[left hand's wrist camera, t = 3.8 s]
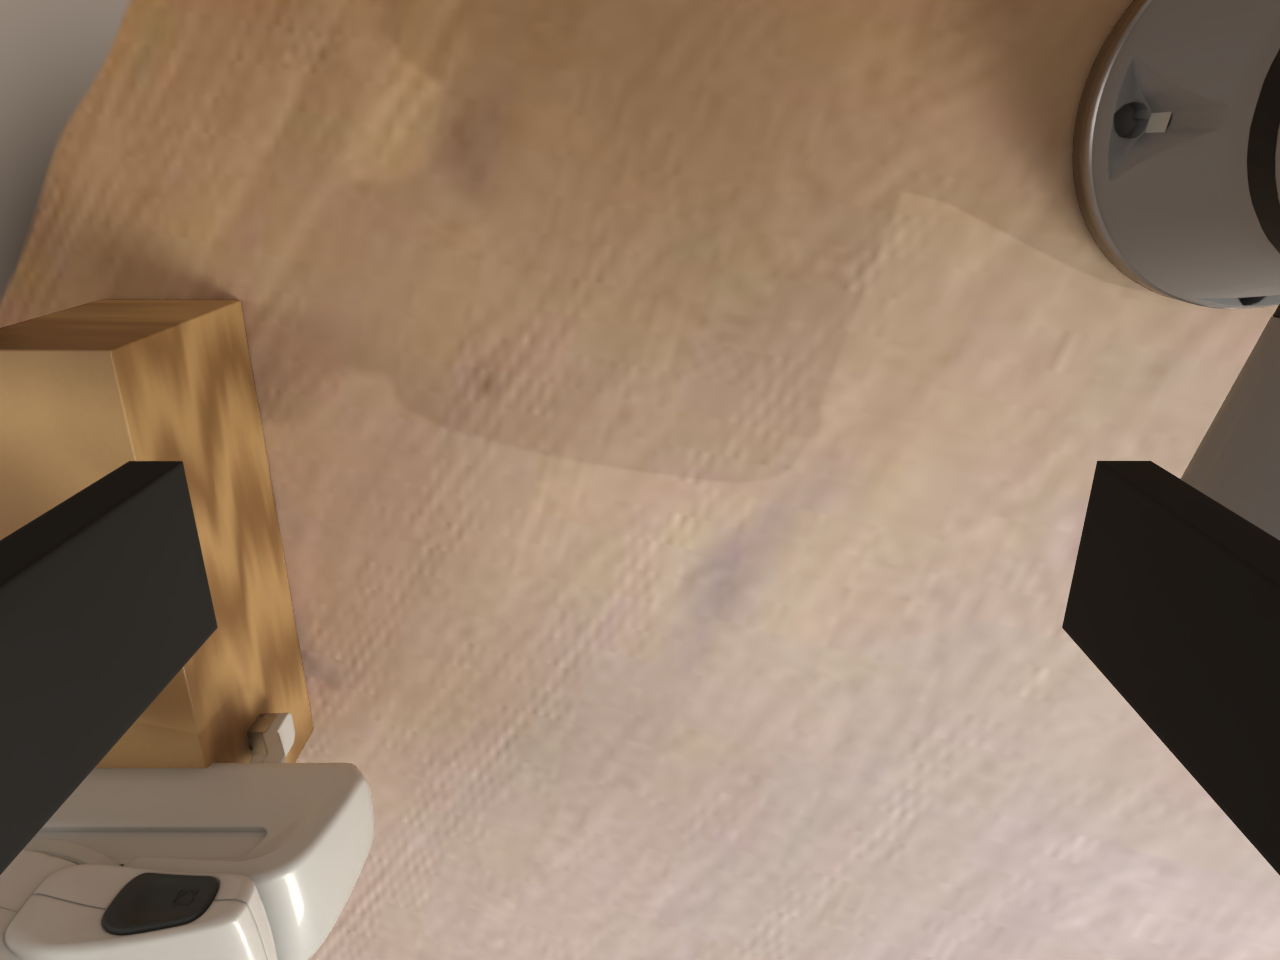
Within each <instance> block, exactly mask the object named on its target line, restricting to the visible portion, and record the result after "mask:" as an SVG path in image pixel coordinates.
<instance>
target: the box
mask: <svg viewBox="0 0 1280 960" xmlns="http://www.w3.org/2000/svg"><path fill="white" fill-rule="evenodd" d="M129 461H183V465H184V470H185V474H186V479H187V484H188V489H189V493H190V498H191V503H192V508H193V512H194V517H195V522H196V527H197V531H198V536H199V541H200V546H201V550H202V555H203V560H204V565H205V569H206V574H207V579H208V584H209V588H210V593H211V598H212V603H213V607H214V612H215V617H216V622H217V626H218V628H217V629H216V630H215V631H214V632H213V634H212V635H211V636H210V637H209V638H208V639H207V640H206V642H205V643H204V644H203V645H202V646H201V647H200V648H199V649H198V651H197V652H196V653H195V654H194V655H193V656H192V657H191V659H190V660H189V661H188V662H187V663H186V664H185V665H184V667H183V668H182V669H181V670H180V671H179V672H178V673H177V675H176V676H175V677H174V678H173V679H172V680H171V681H170V683H169V684H168V685H167V686H166V687H165V688H164V689H163V690H162V692H161V693H160V694H159V695H158V696H157V697H156V698H155V700H154V701H153V702H152V703H151V704H150V705H149V706H148V708H147V709H146V710H145V711H144V712H143V713H142V714H141V716H140V717H139V718H138V719H137V720H136V721H135V722H134V723H133V725H132V726H131V727H130V728H129V729H128V730H127V731H126V733H125V734H124V735H123V736H122V737H121V738H120V739H119V741H118V742H117V743H116V744H115V745H114V746H113V747H112V749H111V750H110V751H109V752H108V753H107V754H106V755H105V757H104V758H103V759H102V760H101V761H100V762H99V763H98V764H97V766H96V767H95V768H207V767H209V766H210V765H211V764H212V763H249V762H250V760H251V759H252V755H251V749H252V747H251V746H250V745H249V741H248V736H247V731H248V730H249V728H250V727H251V725H252V724H253V722H255V721H256V718H257V716H258V715H259V714H260V713H291V714H292V718H293V723H294V729H295V739H294V743H293V745H292V747H291V749H290V750H289V752H288V754H287V756H286V762H287V763H295V762H296V760H297V758H298V757H299V755H300V753H301V751H302V750H303V748H304V746H305V744H306V742H307V741H308V739H309V737H310V735H311V733H312V732H313V730H314V729H313V723H312V717H311V711H310V705H309V700H308V694H307V688H306V682H305V676H304V670H303V664H302V659H301V653H300V647H299V641H298V635H297V629H296V623H295V618H294V612H293V606H292V600H291V594H290V588H289V582H288V576H287V571H286V565H285V559H284V553H283V547H282V541H281V535H280V530H279V524H278V518H277V512H276V506H275V500H274V494H273V489H272V483H271V477H270V471H269V465H268V459H267V453H266V448H265V442H264V436H263V430H262V424H261V418H260V412H259V406H258V401H257V395H256V389H255V383H254V377H253V371H252V365H251V360H250V354H249V348H248V342H247V336H246V330H245V324H244V319H243V313H242V307H241V301H240V300H98V301H94V302H91V303H87V304H84V305H80V306H77V307H73V308H70V309H66V310H63V311H59V312H56V313H52V314H49V315H45V316H42V317H38V318H35V319H31V320H27V321H24V322H20V323H17V324H13V325H10V326H6V327H3V328H0V540H2V539H3V538H5V537H7V536H8V535H10V534H12V533H13V532H15V531H16V530H18V529H20V528H21V527H23V526H25V525H26V524H28V523H29V522H31V521H33V520H34V519H36V518H38V517H39V516H41V515H42V514H44V513H46V512H47V511H49V510H51V509H52V508H54V507H55V506H57V505H59V504H60V503H62V502H64V501H65V500H67V499H68V498H70V497H72V496H73V495H75V494H77V493H78V492H80V491H81V490H83V489H85V488H86V487H88V486H90V485H91V484H93V483H94V482H96V481H98V480H99V479H101V478H103V477H104V476H106V475H107V474H109V473H111V472H112V471H114V470H116V469H117V468H119V467H120V466H122V465H124V464H125V463H127V462H129Z"/></svg>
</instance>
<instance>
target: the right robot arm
mask: <svg viewBox="0 0 1280 960" xmlns="http://www.w3.org/2000/svg"><path fill="white" fill-rule="evenodd" d="M247 736H248V741H249V745H250V746H251V747H252V749H251V755H252V759H251V760H250V762H249V763H212V764H211V765H210V766H209V767H207V768H94V769H93V770H92V771H91V772H90V774H89V775H88V776H87V777H86V778H85V779H84V780H83V782H82V783H81V784H80V785H79V786H78V787H77V788H76V790H75V791H74V792H73V793H72V794H71V795H70V796H69V798H68V799H67V800H66V801H65V802H64V803H63V804H62V805H61V807H60V808H59V809H58V810H57V811H56V812H55V813H54V815H53V816H52V817H51V818H50V819H49V820H48V821H47V823H46V824H45V825H44V826H43V827H42V828H41V829H40V831H39V832H38V833H37V834H36V835H35V836H34V837H33V838H32V840H31V841H30V842H29V843H28V844H27V845H26V846H25V848H24V849H23V850H22V851H21V852H20V853H19V854H18V856H17V857H16V858H15V859H14V860H13V861H12V862H11V864H10V865H9V866H8V867H7V868H6V869H5V870H4V872H3V873H2V874H1V875H0V960H309V959H310V958H311V957H312V956H313V955H314V954H315V952H316V951H317V950H318V949H319V947H320V946H321V945H322V943H323V942H324V941H325V939H326V938H327V936H328V935H329V933H330V931H331V930H332V928H333V926H334V924H335V922H336V921H337V919H338V917H339V915H340V913H341V911H342V910H343V908H344V906H345V904H346V902H347V900H348V898H349V896H350V894H351V892H352V890H353V888H354V886H355V884H356V881H357V879H358V877H359V875H360V873H361V870H362V868H363V866H364V863H365V861H366V858H367V856H368V853H369V850H370V847H371V844H372V841H373V836H374V813H373V804H372V798H371V793H370V789H369V785H368V783H367V781H366V779H365V777H364V776H363V774H362V773H361V771H360V770H359V769H358V768H357V766H355V765H354V764H351V763H287V762H286V756H287V754H288V752H289V750H290V749H291V747H292V745H293V743H294V739H295V729H294V723H293V718H292V714H291V713H260V714H259V715H258V716H257V718H256V721H255V722H253V724H252V725H251V727H250V728H249V730H248V731H247Z"/></svg>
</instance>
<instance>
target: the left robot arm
mask: <svg viewBox="0 0 1280 960" xmlns="http://www.w3.org/2000/svg"><path fill="white" fill-rule="evenodd" d="M1073 175H1074V183H1075V189H1076V195H1077V199H1078V202H1079V206H1080V210H1081V213H1082V215H1083V218H1084V220H1085V223H1086V225H1087V227H1088V229H1089V231H1090V233H1091V235H1092V237H1093V239H1094V241H1095V242H1096V243H1097V245H1098V246H1099V248H1100V249H1101V251H1102V252H1103V253H1104V255H1105V256H1106V257H1107V258H1108V259H1109V260H1110V261H1111V263H1112V264H1113V265H1114V266H1115V267H1117V268H1118V269H1119V270H1120V271H1121V272H1122V273H1123V274H1124V275H1126V276H1127V277H1129V278H1130V279H1132V280H1133V281H1134V282H1136V283H1138V284H1139V285H1141V286H1143V287H1145V288H1147V289H1149V290H1151V291H1153V292H1156V293H1158V294H1161V295H1164V296H1167V297H1170V298H1174V299H1177V300H1181V301H1184V302H1188V303H1192V304H1196V305H1199V306H1206V307H1212V308H1224V309H1241V308H1259V307H1267V306H1274V305H1279V306H1278V308H1277V309H1276V311H1275V313H1274V314H1273V317H1271V318H1270V320H1269V322H1268V324H1267V325H1266V327H1265V329H1264V331H1263V333H1262V334H1261V336H1260V338H1259V340H1258V342H1257V343H1256V345H1255V347H1254V349H1253V351H1252V352H1251V354H1250V356H1249V358H1248V359H1247V361H1246V363H1245V365H1244V367H1243V368H1242V370H1241V372H1240V374H1239V376H1238V377H1237V379H1236V381H1235V383H1234V385H1233V386H1232V388H1231V390H1230V392H1229V394H1228V395H1227V397H1226V399H1225V401H1224V402H1223V404H1222V406H1221V408H1220V410H1219V411H1218V413H1217V415H1216V417H1215V419H1214V420H1213V422H1212V424H1211V426H1210V428H1209V429H1208V431H1207V433H1206V435H1205V436H1204V438H1203V440H1202V442H1201V444H1200V445H1199V447H1198V449H1197V451H1196V453H1195V454H1194V456H1193V458H1192V460H1191V462H1190V463H1189V465H1188V467H1187V469H1186V471H1185V472H1184V474H1183V476H1182V478H1181V479H1179V478H1177V477H1176V476H1174V475H1173V474H1171V473H1169V472H1168V471H1166V470H1164V469H1163V468H1161V467H1160V466H1158V465H1156V464H1155V463H1153V462H1151V461H1097V465H1096V470H1095V474H1094V479H1093V484H1092V489H1091V493H1090V498H1089V503H1088V508H1087V512H1086V517H1085V522H1084V527H1083V531H1082V536H1081V541H1080V546H1079V550H1078V555H1077V560H1076V565H1075V569H1074V574H1073V579H1072V584H1071V588H1070V593H1069V598H1068V603H1067V607H1066V612H1065V617H1064V622H1063V626H1062V628H1063V629H1064V630H1065V631H1066V632H1067V634H1068V635H1069V636H1070V637H1071V638H1072V639H1073V640H1074V642H1075V643H1076V644H1077V645H1078V646H1079V647H1080V648H1081V649H1082V651H1083V652H1084V653H1085V654H1086V655H1087V656H1088V657H1089V659H1090V660H1091V661H1092V662H1093V663H1094V664H1095V665H1096V667H1097V668H1098V669H1099V670H1100V671H1101V672H1102V673H1103V675H1104V676H1105V677H1106V678H1107V679H1108V680H1109V681H1110V683H1111V684H1112V685H1113V686H1114V687H1115V688H1116V689H1117V690H1118V692H1119V693H1120V694H1121V695H1122V696H1123V697H1124V698H1125V700H1126V701H1127V702H1128V703H1129V704H1130V705H1131V706H1132V708H1133V709H1134V710H1135V711H1136V712H1137V713H1138V714H1139V716H1140V717H1141V718H1142V719H1143V720H1144V721H1145V722H1146V723H1147V725H1148V726H1149V727H1150V728H1151V729H1152V730H1153V731H1154V733H1155V734H1156V735H1157V736H1158V737H1159V738H1160V739H1161V741H1162V742H1163V743H1164V744H1165V745H1166V746H1167V747H1168V749H1169V750H1170V751H1171V752H1172V753H1173V754H1174V755H1175V757H1176V758H1177V759H1178V760H1179V761H1180V762H1181V763H1182V764H1183V766H1184V767H1185V768H1186V769H1187V770H1188V771H1189V772H1190V774H1191V775H1192V776H1193V777H1194V778H1195V779H1196V780H1197V782H1198V783H1199V784H1200V785H1201V786H1202V787H1203V788H1204V790H1205V791H1206V792H1207V793H1208V794H1209V795H1210V796H1211V798H1212V799H1213V800H1214V801H1215V802H1216V803H1217V804H1218V805H1219V807H1220V808H1221V809H1222V810H1223V811H1224V812H1225V813H1226V815H1227V816H1228V817H1229V818H1230V819H1231V820H1232V821H1233V823H1234V824H1235V825H1236V826H1237V827H1238V828H1239V829H1240V831H1241V832H1242V833H1243V834H1244V835H1245V836H1246V837H1247V838H1248V840H1249V841H1250V842H1251V843H1252V844H1253V845H1254V846H1255V848H1256V849H1257V850H1258V851H1259V852H1260V853H1261V854H1262V856H1263V857H1264V858H1265V859H1266V860H1267V861H1268V862H1269V864H1270V865H1271V866H1272V867H1273V868H1274V869H1275V870H1276V872H1277V873H1278V874H1279V875H1280V0H1134V1H1133V2H1132V3H1131V5H1130V6H1129V7H1128V8H1127V9H1126V11H1125V12H1124V14H1123V15H1122V16H1121V18H1120V19H1119V21H1118V22H1117V23H1116V25H1115V26H1114V28H1113V29H1112V31H1111V33H1110V34H1109V36H1108V38H1107V39H1106V41H1105V43H1104V44H1103V46H1102V48H1101V50H1100V52H1099V54H1098V56H1097V58H1096V60H1095V62H1094V64H1093V67H1092V69H1091V72H1090V74H1089V77H1088V79H1087V82H1086V85H1085V88H1084V91H1083V94H1082V98H1081V101H1080V105H1079V109H1078V114H1077V118H1076V123H1075V131H1074V139H1073ZM217 628H218V626H217V622H216V617H215V612H214V607H213V603H212V598H211V593H210V588H209V584H208V579H207V574H206V569H205V565H204V560H203V555H202V550H201V546H200V541H199V536H198V531H197V527H196V522H195V517H194V512H193V508H192V503H191V498H190V493H189V489H188V484H187V479H186V474H185V470H184V465H183V461H129V462H127V463H125V464H124V465H122V466H120V467H119V468H117V469H116V470H114V471H112V472H111V473H109V474H107V475H106V476H104V477H103V478H101V479H99V480H98V481H96V482H94V483H93V484H91V485H90V486H88V487H86V488H85V489H83V490H81V491H80V492H78V493H77V494H75V495H73V496H72V497H70V498H68V499H67V500H65V501H64V502H62V503H60V504H59V505H57V506H55V507H54V508H52V509H51V510H49V511H47V512H46V513H44V514H42V515H41V516H39V517H38V518H36V519H34V520H33V521H31V522H29V523H28V524H26V525H25V526H23V527H21V528H20V529H18V530H16V531H15V532H13V533H12V534H10V535H8V536H7V537H5V538H3V539H2V540H0V875H1V874H2V873H3V872H4V870H5V869H6V868H7V867H8V866H9V865H10V864H11V862H12V861H13V860H14V859H15V858H16V857H17V856H18V854H19V853H20V852H21V851H22V850H23V849H24V848H25V846H26V845H27V844H28V843H29V842H30V841H31V840H32V838H33V837H34V836H35V835H36V834H37V833H38V832H39V831H40V829H41V828H42V827H43V826H44V825H45V824H46V823H47V821H48V820H49V819H50V818H51V817H52V816H53V815H54V813H55V812H56V811H57V810H58V809H59V808H60V807H61V805H62V804H63V803H64V802H65V801H66V800H67V799H68V798H69V796H70V795H71V794H72V793H73V792H74V791H75V790H76V788H77V787H78V786H79V785H80V784H81V783H82V782H83V780H84V779H85V778H86V777H87V776H88V775H89V774H90V772H91V771H92V770H93V769H94V768H95V767H96V766H97V764H98V763H99V762H100V761H101V760H102V759H103V758H104V757H105V755H106V754H107V753H108V752H109V751H110V750H111V749H112V747H113V746H114V745H115V744H116V743H117V742H118V741H119V739H120V738H121V737H122V736H123V735H124V734H125V733H126V731H127V730H128V729H129V728H130V727H131V726H132V725H133V723H134V722H135V721H136V720H137V719H138V718H139V717H140V716H141V714H142V713H143V712H144V711H145V710H146V709H147V708H148V706H149V705H150V704H151V703H152V702H153V701H154V700H155V698H156V697H157V696H158V695H159V694H160V693H161V692H162V690H163V689H164V688H165V687H166V686H167V685H168V684H169V683H170V681H171V680H172V679H173V678H174V677H175V676H176V675H177V673H178V672H179V671H180V670H181V669H182V668H183V667H184V665H185V664H186V663H187V662H188V661H189V660H190V659H191V657H192V656H193V655H194V654H195V653H196V652H197V651H198V649H199V648H200V647H201V646H202V645H203V644H204V643H205V642H206V640H207V639H208V638H209V637H210V636H211V635H212V634H213V632H214V631H215V630H216V629H217Z"/></svg>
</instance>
